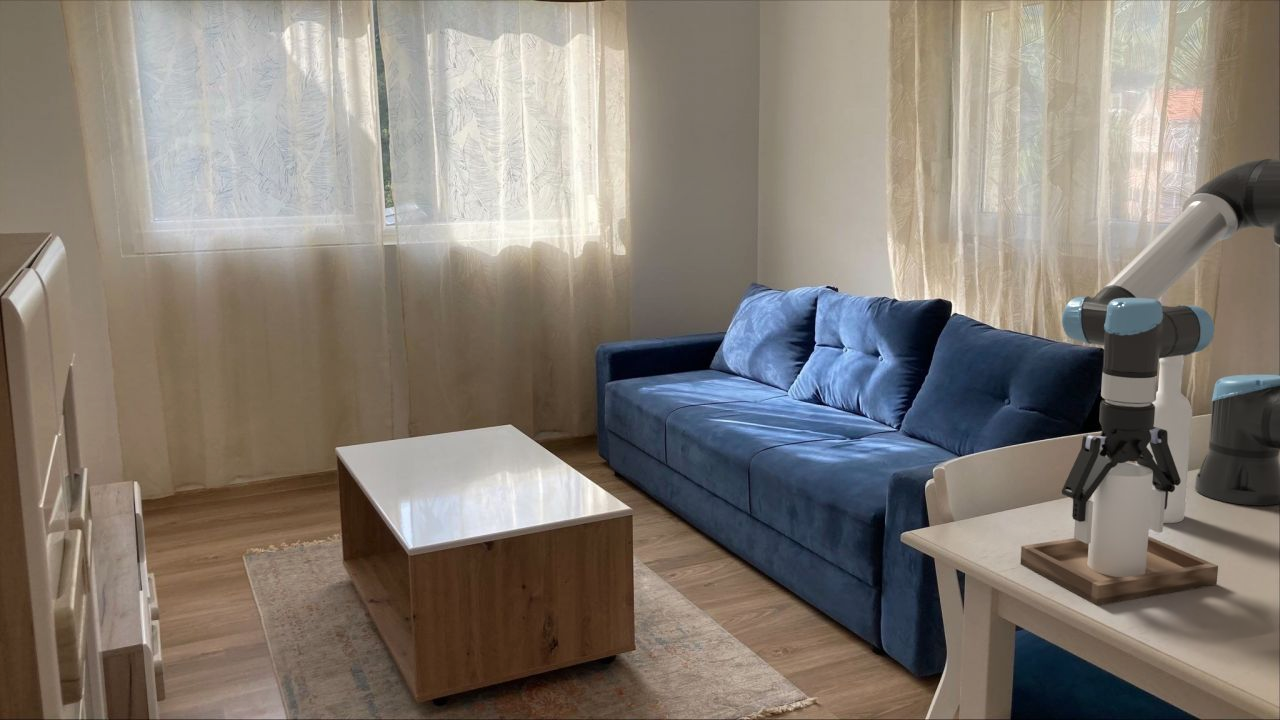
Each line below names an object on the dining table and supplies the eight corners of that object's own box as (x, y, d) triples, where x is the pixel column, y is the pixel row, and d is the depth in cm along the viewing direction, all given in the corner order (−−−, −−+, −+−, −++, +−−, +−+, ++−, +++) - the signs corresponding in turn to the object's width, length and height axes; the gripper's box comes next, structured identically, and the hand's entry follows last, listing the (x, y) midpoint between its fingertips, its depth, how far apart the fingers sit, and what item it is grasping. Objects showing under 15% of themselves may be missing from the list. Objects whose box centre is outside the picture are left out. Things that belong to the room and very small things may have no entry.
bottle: (1194, 522, 181) (1208, 356, 176) (1153, 525, 180) (1166, 358, 175) (1165, 507, 189) (1177, 348, 183) (1126, 510, 188) (1137, 350, 182)
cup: (1152, 579, 154) (1160, 477, 151) (1094, 576, 155) (1100, 475, 153) (1137, 559, 162) (1144, 462, 159) (1082, 556, 163) (1088, 460, 160)
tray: (1131, 546, 170) (1132, 529, 169) (1216, 584, 154) (1218, 565, 153) (1020, 563, 163) (1021, 545, 163) (1097, 605, 147) (1098, 585, 147)
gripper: (1174, 389, 161) (1164, 517, 165) (1041, 402, 154) (1034, 536, 157) (1213, 399, 154) (1202, 533, 158) (1076, 413, 147) (1068, 553, 150)
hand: (1118, 535), depth 158 cm, fingers open, 13 cm apart
